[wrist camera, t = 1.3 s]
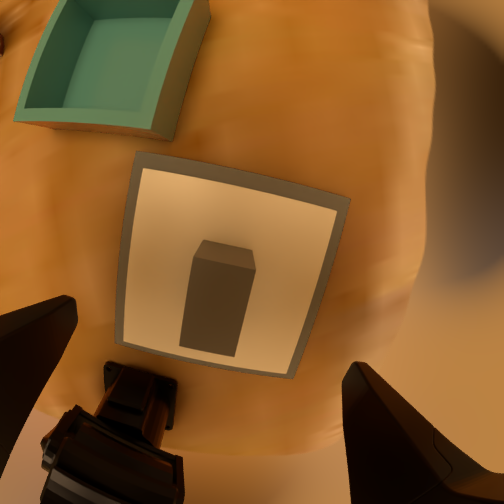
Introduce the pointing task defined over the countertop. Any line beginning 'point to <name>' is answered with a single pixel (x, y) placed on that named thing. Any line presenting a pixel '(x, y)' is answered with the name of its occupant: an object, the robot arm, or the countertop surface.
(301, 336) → the mat
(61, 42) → the dish
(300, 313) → the lid
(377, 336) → the countertop surface
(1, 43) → the food container
